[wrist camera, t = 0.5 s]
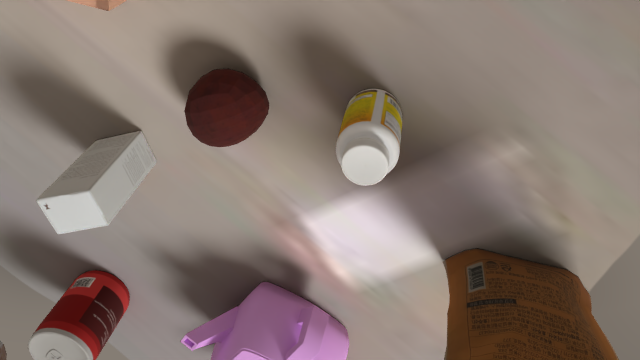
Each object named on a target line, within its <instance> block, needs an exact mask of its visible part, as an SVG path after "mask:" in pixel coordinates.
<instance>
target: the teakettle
mask: <svg viewBox="0 0 640 360" xmlns="http://www.w3.org/2000/svg"><path fill="white" fill-rule="evenodd" d="M180 342H182V343H183V344H184V345H185V346H187V347H188V348H189V349H190V350H192V351H193V350H194V349H197V348H200V347H203V346H207V345H210V344H213V343H215V346H214V349H213V353H212V357H211V360H346V357H347V353H348V348H349V338H348V333H347V330H346V328H345V327H344V326H343V325H342V324H341V323H340V322H338V321H337V320H336V319H334V318H333V317H332V316H330V315H329V314H328V313H326V312H324V311H323V310H322V309H320V308H319V307H317V306H316V305H314V304H312V303H311V302H309V301H307V300H305V299H304V298H302V297H300V296H298V295H296V294H294V293H292V292H290V291H288V290H286V289H284V288H282V287H279V286H277V285H275V284H272V283H269V282H262V283H260V284H259V285H258V286H257V287H256V288H255V289H254V290H253V291H252V292H251V293H250V294H249V295H248V296H247V297H246V298H245V299H244V300H243V302H242V303H241V304H240V305H239V306H238V307H237V306H236V307H235V308H233V309H231V310H229V311H227V312H225V313H224V314H222V315H220V316H218V317H216V318H214V319H213V320H211V321H209V322H207V323H205V324H203V325H202V326H200V327H198V328H196V329H194V330H192V331H190V332H189V333H187V334H186V335H185V336H184V338H183V339H182V340H181V341H180Z"/></svg>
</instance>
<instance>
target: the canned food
mask: <svg viewBox="0 0 640 360" xmlns="http://www.w3.org/2000/svg"><path fill="white" fill-rule="evenodd" d="M129 299H130V296H129V292H128V289H127V287H126V286H125V285H124V283H123V282H122V281H121V280H119V279H118V278H117V277H115V276H113V275H112V274H109V273H107V272H103V271H97V270H95V271H88V272H85V273H83V274H82V275H80V276H79V277H77V278H76V279H75V281H74V282H73V283H72V284H71V286H70V287H69V288H68V289H67V291H66V292H65V293H64V295H63V296H62V297H61V298H60V300H59V301H58V302H57V304H56V305H55V306H54V307H53V309H52V310H51V311H50V313H49V314H48V315H47V316H46V318H45V319H44V320H43V322H42V323H41V324H40V325H39V327H38V328H37V330H36V331H35V332H34V333H33V335H32V337H31V339H30V340H29V343H28V349H29V352H30V354H31V356H32V358H33V359H34V360H96V358H97V356H98V355H99V353H100V352H101V350H102V349H103V347H104V345H105V344H106V342H107V340H108V339H109V337H110V336H111V334H112V332H113V331H114V329H115V327H116V326H117V324H118V323H119V321H120V319H121V318H122V316H123V314H124V313H125V311H126V310H127V307H128V305H129Z"/></svg>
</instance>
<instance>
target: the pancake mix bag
mask: <svg viewBox="0 0 640 360" xmlns="http://www.w3.org/2000/svg"><path fill="white" fill-rule="evenodd" d="M443 264H444V266H445V269H446V273H447V278H448V285H449V293H450V304H449V309H448V313H447V318H448V325H447V347H446V352H445V357H444V360H619V359H618V357H617V355H616V353H615V351H614V349H613V347H612V346H611V344H610V342H609V340H608V339H607V337H606V336H605V334H604V333H603V332H602V330H601V328H600V327H599V325H598V323H597V322H596V320H595V319H594V317H593V315H592V314H591V296H590V295H589V293H588V292H587V290H586V289H585V288H584V286H583V284H582V283H581V281H580V279H579V277H578V276H576V275H575V274H573V273H572V272H570V271H569V270H566V269H562V268H557V267H553V266H549V265H544V264H540V263H536V262H532V261H528V260H523V259H518V258H514V257H509V256H505V255H501V254H497V253H494V252H490V251H486V250H482V249H478V248H477V249H471V250H466V251H463V252H461V253H458V254H456V255H454V256H452V257H450V258H448V259H446V260H445V261H443Z"/></svg>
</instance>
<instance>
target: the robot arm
mask: <svg viewBox="0 0 640 360" xmlns="http://www.w3.org/2000/svg"><path fill="white" fill-rule="evenodd" d="M0 360H6V351H5V347H4V344H3V343H2V342H1V341H0Z"/></svg>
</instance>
